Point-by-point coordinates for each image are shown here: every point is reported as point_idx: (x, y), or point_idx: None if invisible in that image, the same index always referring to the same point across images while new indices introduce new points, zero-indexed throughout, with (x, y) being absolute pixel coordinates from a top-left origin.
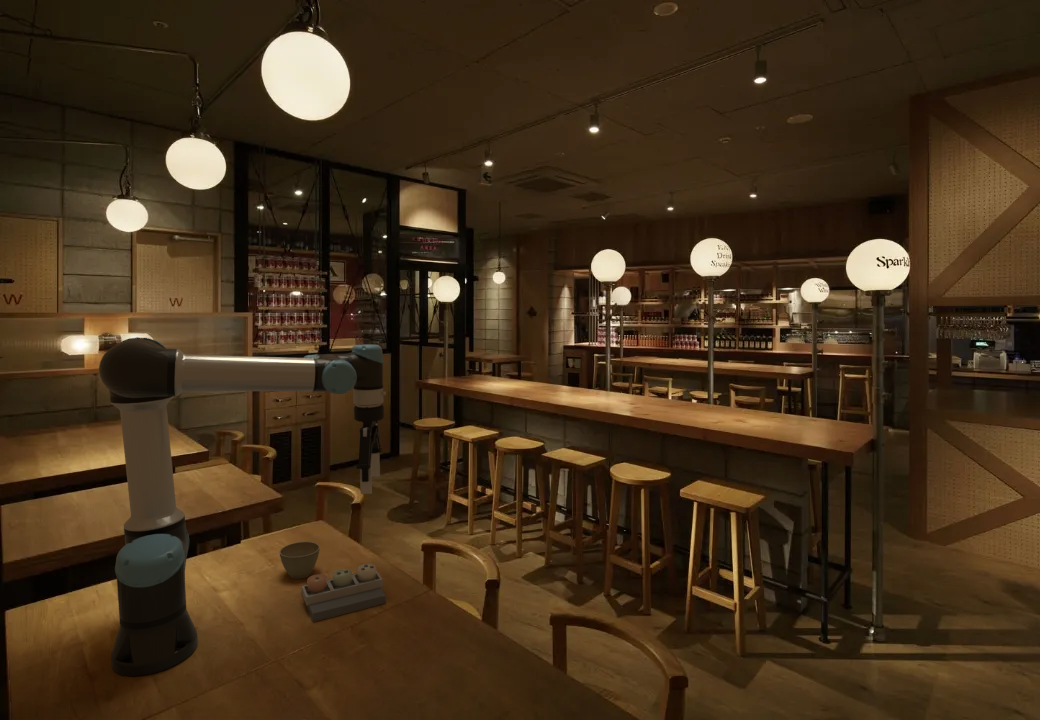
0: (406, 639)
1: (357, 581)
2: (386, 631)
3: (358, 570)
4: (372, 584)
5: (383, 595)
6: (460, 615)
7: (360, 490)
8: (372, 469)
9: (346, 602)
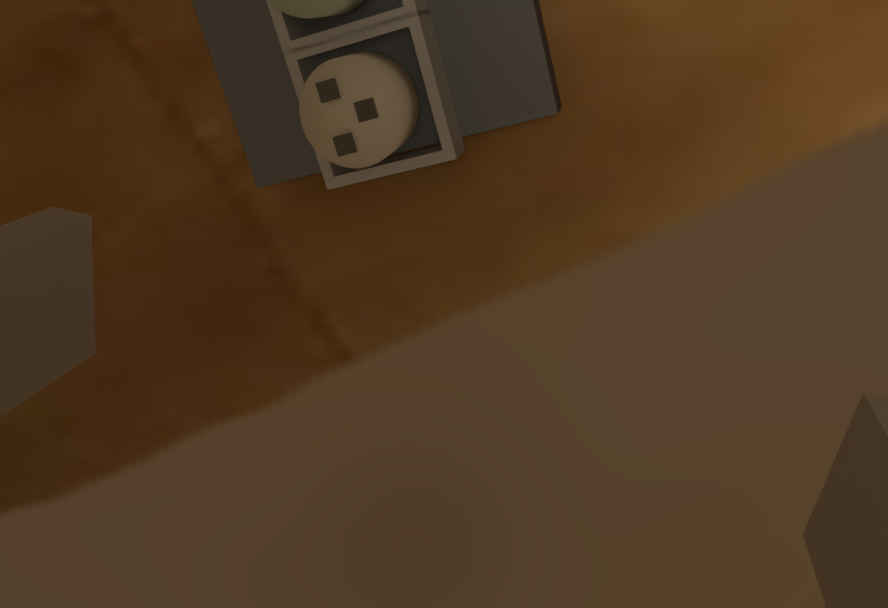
0: None
1: (324, 49)
2: (64, 165)
3: (328, 61)
4: None
5: (257, 177)
6: (153, 438)
7: (19, 220)
8: (884, 527)
9: None
